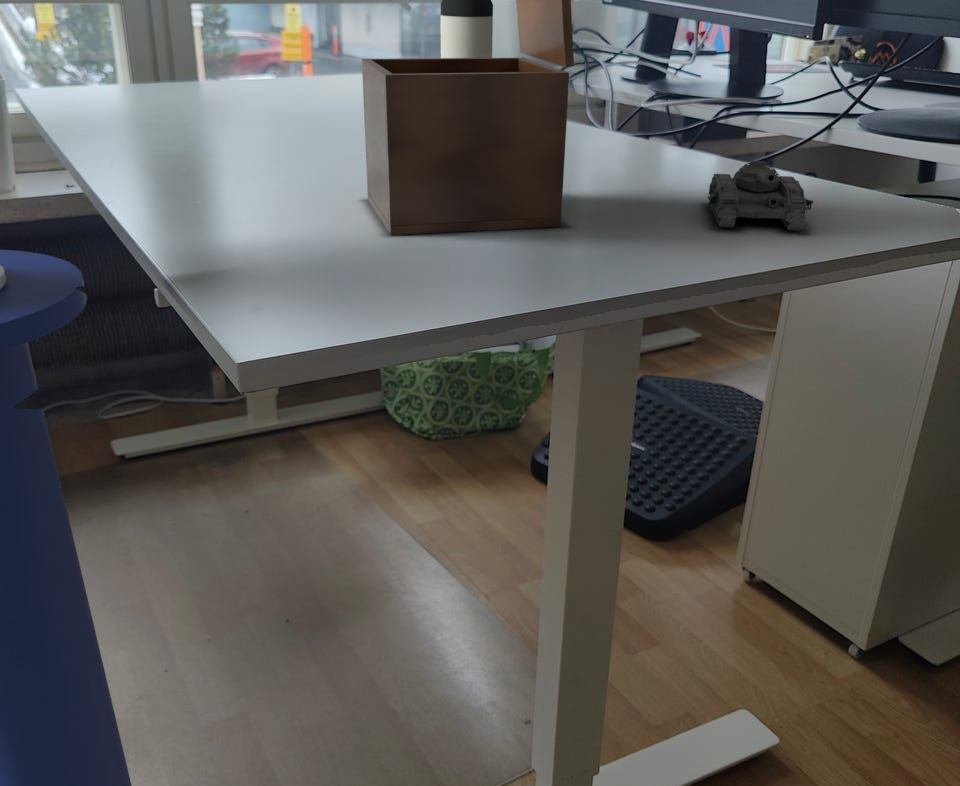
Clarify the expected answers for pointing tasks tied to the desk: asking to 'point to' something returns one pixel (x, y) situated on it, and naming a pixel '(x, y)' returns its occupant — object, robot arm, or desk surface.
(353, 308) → the desk surface
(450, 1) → the travel mug
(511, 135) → the chest
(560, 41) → the lid
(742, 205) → the tank toy
